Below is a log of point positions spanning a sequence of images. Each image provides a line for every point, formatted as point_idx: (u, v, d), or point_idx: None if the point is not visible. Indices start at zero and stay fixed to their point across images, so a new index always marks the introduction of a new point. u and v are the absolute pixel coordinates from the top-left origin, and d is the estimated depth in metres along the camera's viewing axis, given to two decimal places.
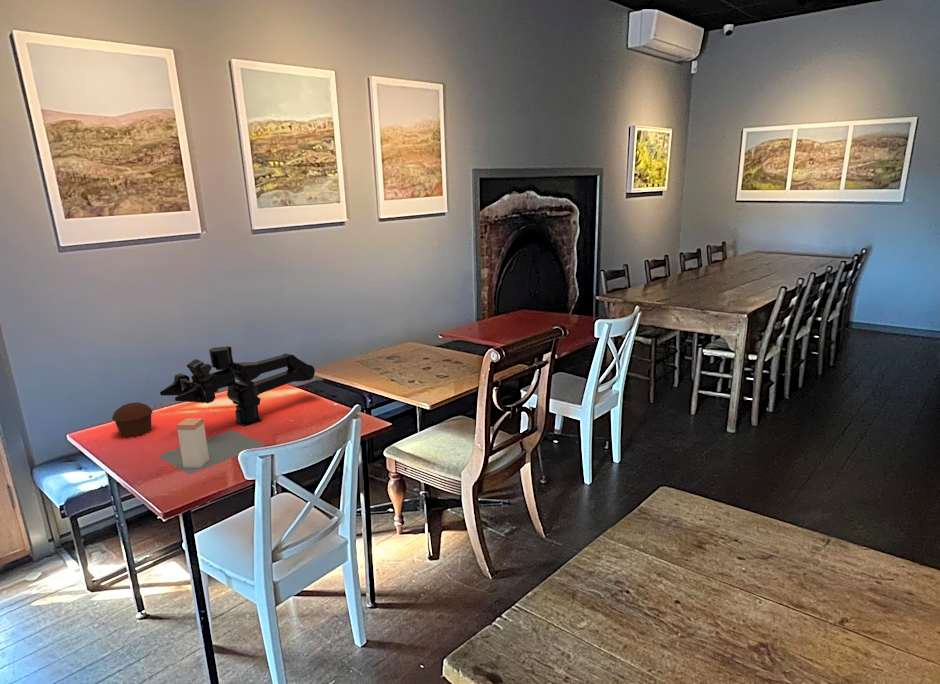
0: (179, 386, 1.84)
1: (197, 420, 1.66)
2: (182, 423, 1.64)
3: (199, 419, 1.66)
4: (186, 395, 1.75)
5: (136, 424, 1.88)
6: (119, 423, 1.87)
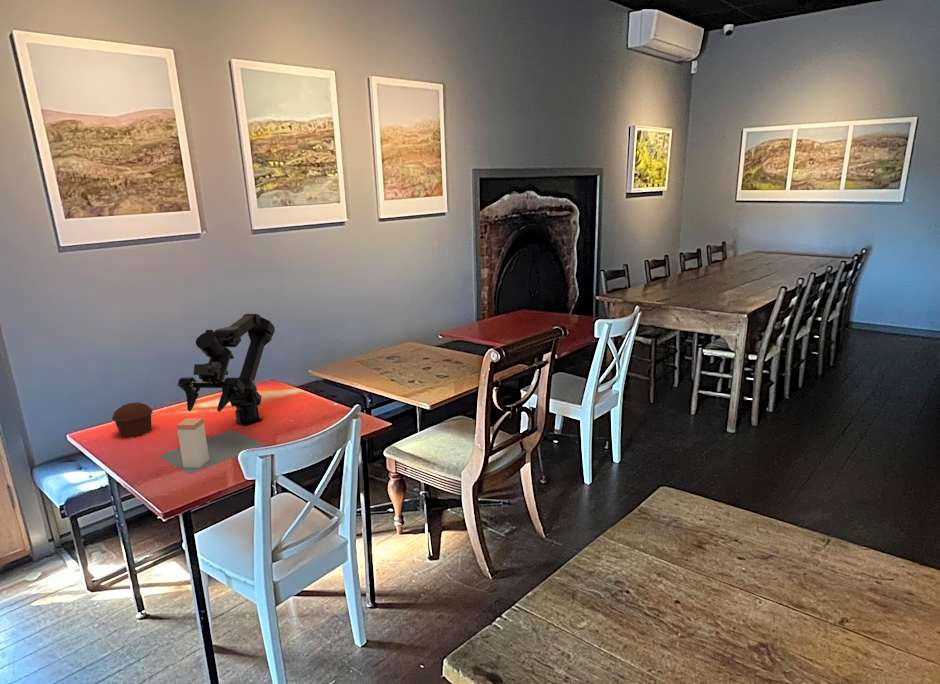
0: (193, 391, 1.76)
1: (197, 420, 1.66)
2: (182, 423, 1.64)
3: (199, 419, 1.66)
4: (223, 401, 1.73)
5: (136, 424, 1.88)
6: (119, 423, 1.87)
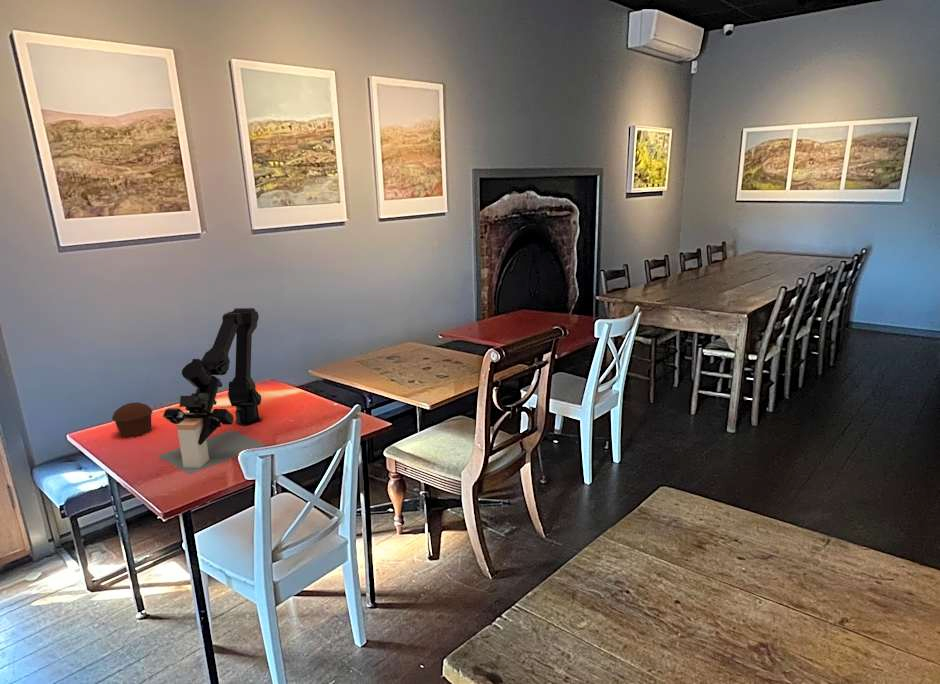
0: None
1: (197, 420, 1.66)
2: (182, 423, 1.64)
3: (199, 419, 1.66)
4: (205, 433, 1.66)
5: (136, 424, 1.88)
6: (119, 423, 1.87)
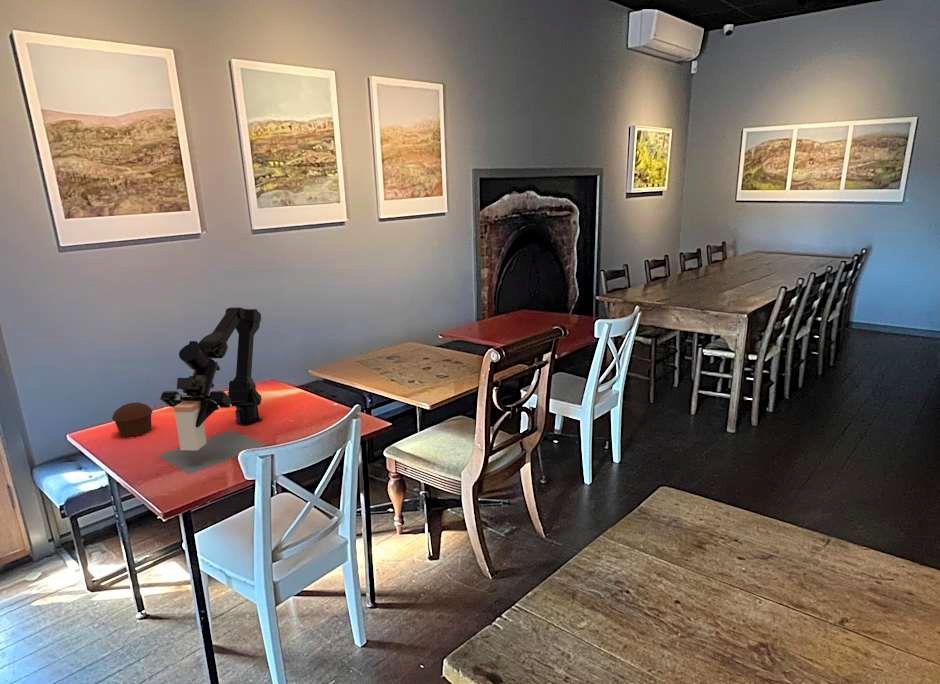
0: None
1: (194, 402, 1.64)
2: (179, 405, 1.62)
3: (196, 401, 1.65)
4: (202, 416, 1.65)
5: (136, 424, 1.88)
6: (119, 423, 1.87)
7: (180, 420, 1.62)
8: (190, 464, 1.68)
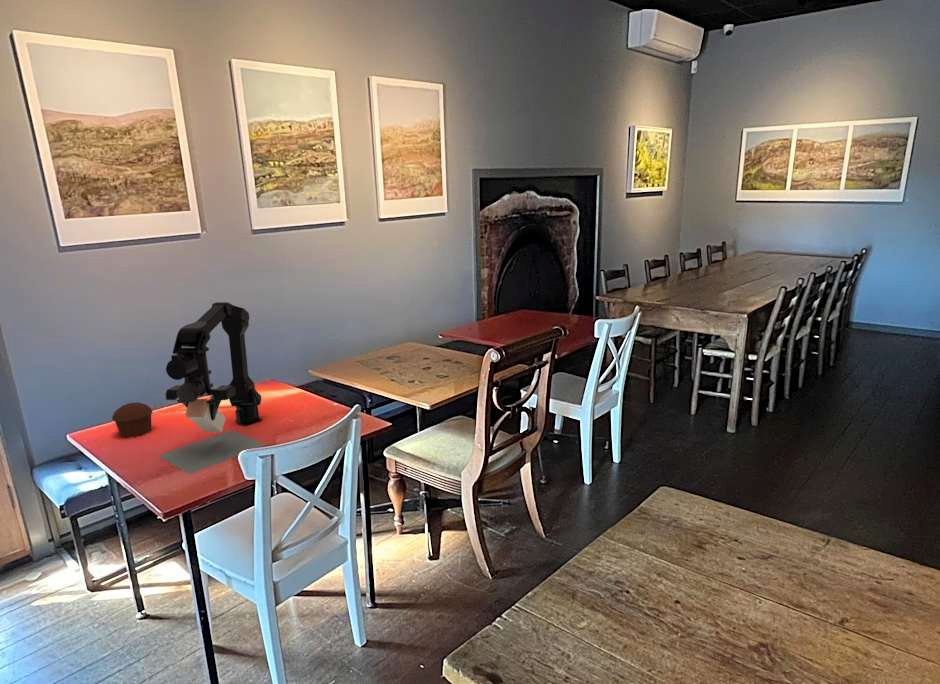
0: None
1: (202, 404, 1.68)
2: (189, 411, 1.67)
3: (203, 401, 1.68)
4: (214, 411, 1.71)
5: (136, 424, 1.88)
6: (119, 423, 1.87)
7: (196, 420, 1.70)
8: (190, 464, 1.68)
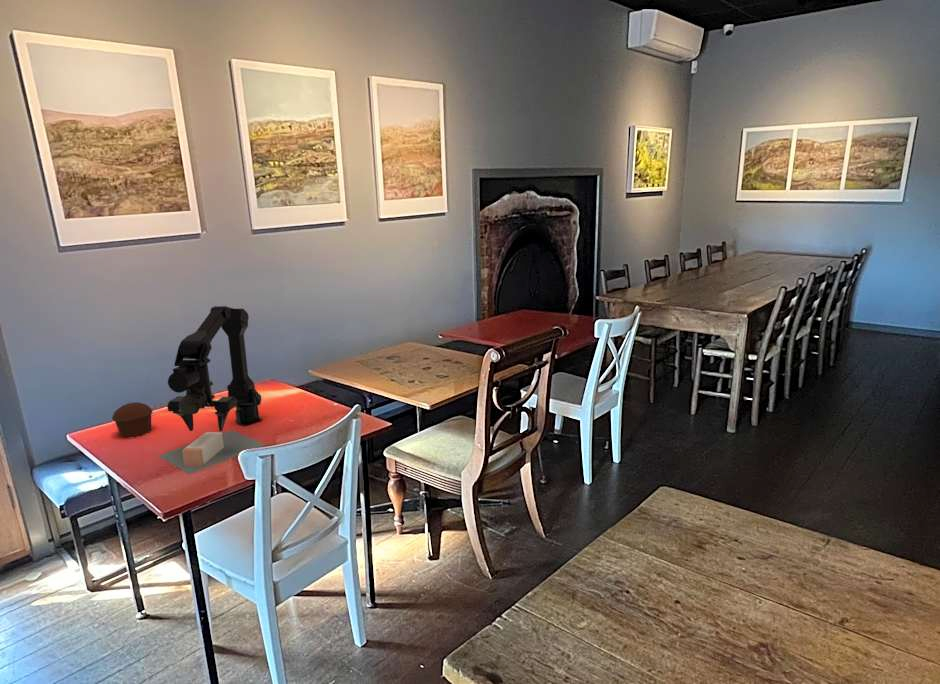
0: None
1: (196, 455, 1.65)
2: (187, 463, 1.66)
3: (196, 452, 1.65)
4: (222, 422, 1.72)
5: (136, 424, 1.88)
6: (119, 423, 1.87)
7: None
8: None
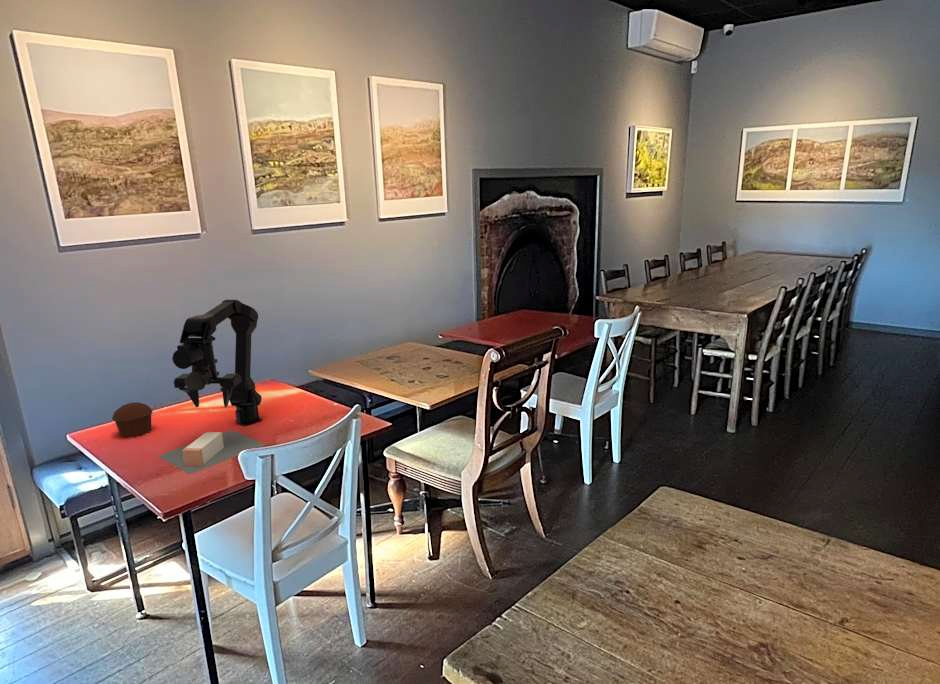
0: None
1: (196, 455, 1.65)
2: (187, 463, 1.66)
3: (196, 452, 1.65)
4: (227, 398, 1.77)
5: (136, 424, 1.88)
6: (119, 423, 1.87)
7: None
8: None
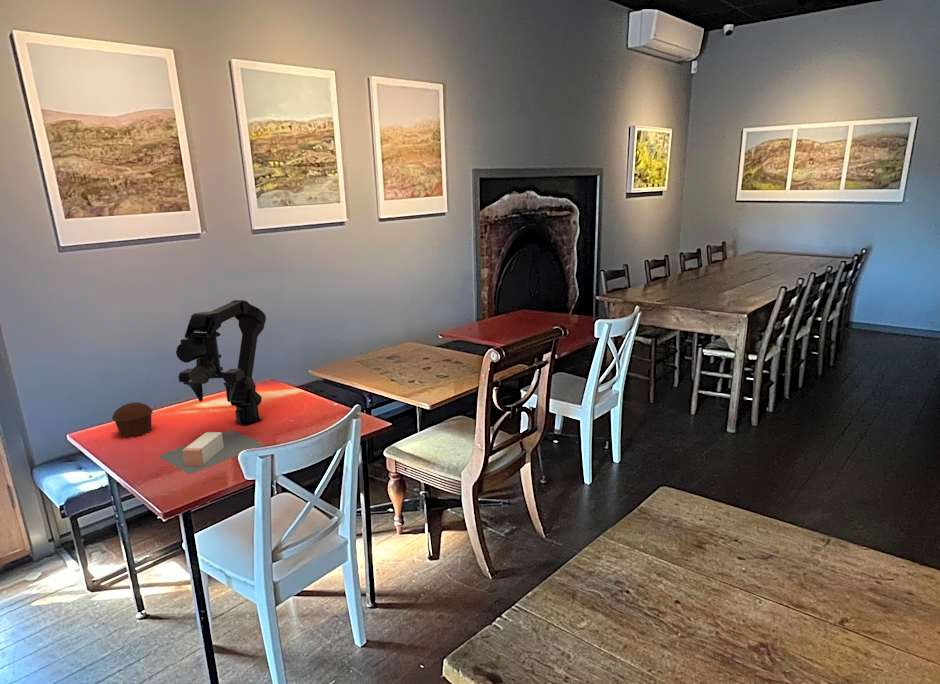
0: None
1: (196, 455, 1.65)
2: (187, 463, 1.66)
3: (196, 452, 1.65)
4: (230, 392, 1.80)
5: (136, 424, 1.88)
6: (119, 423, 1.87)
7: None
8: None
